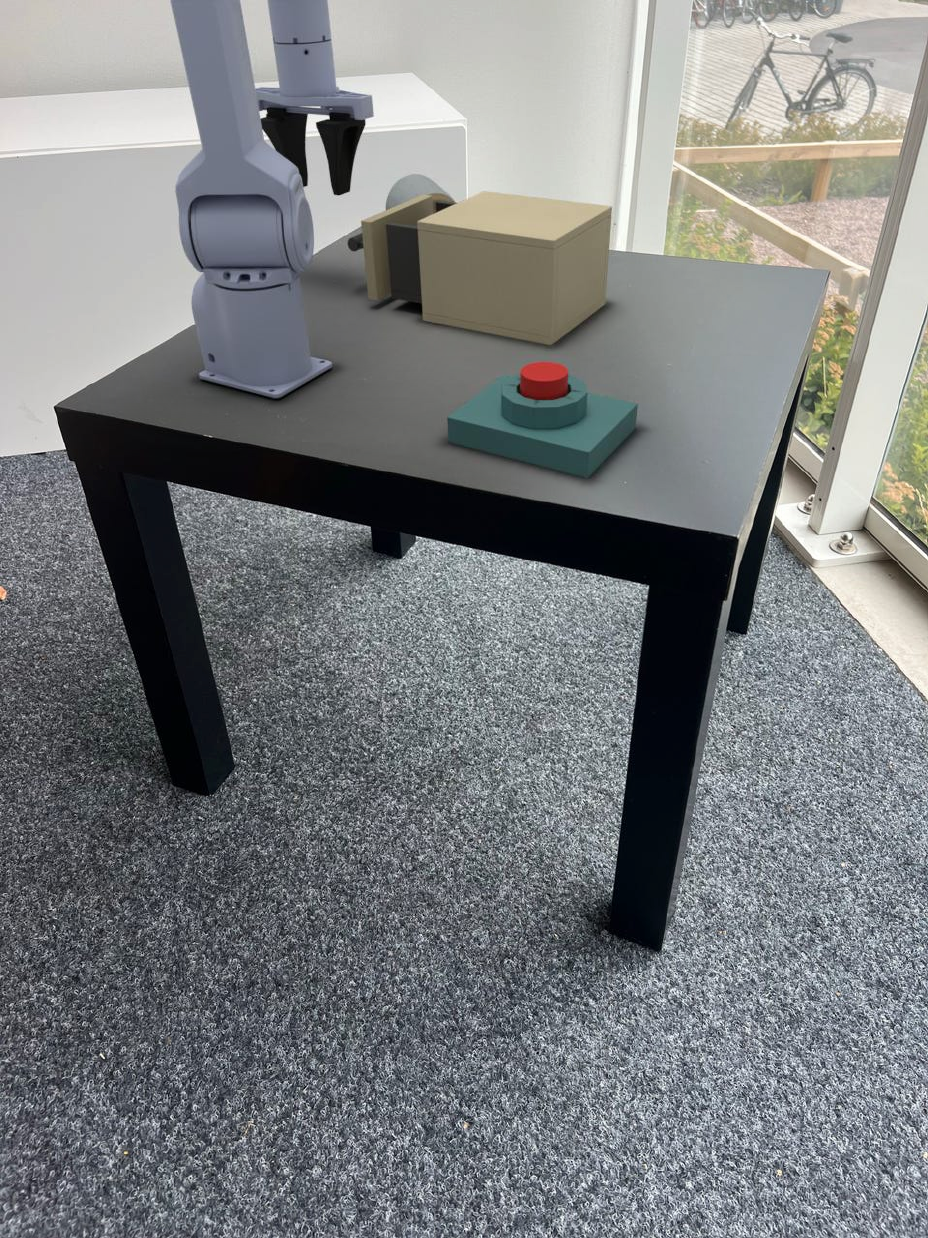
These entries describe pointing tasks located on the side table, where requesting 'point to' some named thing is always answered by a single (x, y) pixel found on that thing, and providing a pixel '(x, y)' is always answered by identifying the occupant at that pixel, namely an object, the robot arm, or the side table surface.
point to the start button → (544, 381)
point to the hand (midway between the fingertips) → (320, 190)
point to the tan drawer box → (514, 265)
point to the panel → (544, 426)
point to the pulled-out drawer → (394, 249)
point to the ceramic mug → (415, 191)
